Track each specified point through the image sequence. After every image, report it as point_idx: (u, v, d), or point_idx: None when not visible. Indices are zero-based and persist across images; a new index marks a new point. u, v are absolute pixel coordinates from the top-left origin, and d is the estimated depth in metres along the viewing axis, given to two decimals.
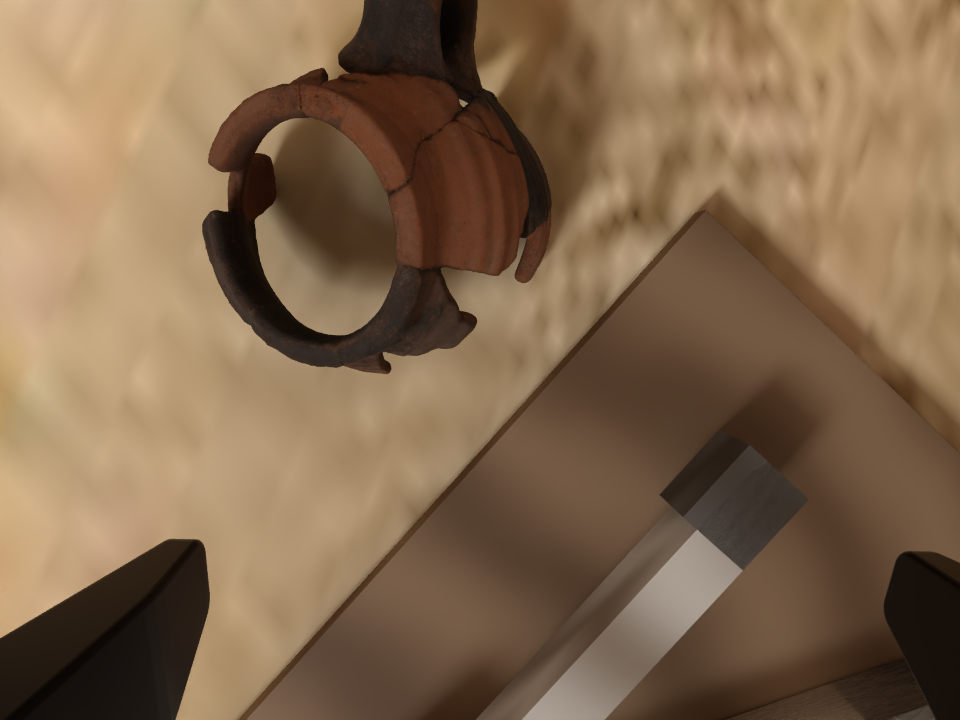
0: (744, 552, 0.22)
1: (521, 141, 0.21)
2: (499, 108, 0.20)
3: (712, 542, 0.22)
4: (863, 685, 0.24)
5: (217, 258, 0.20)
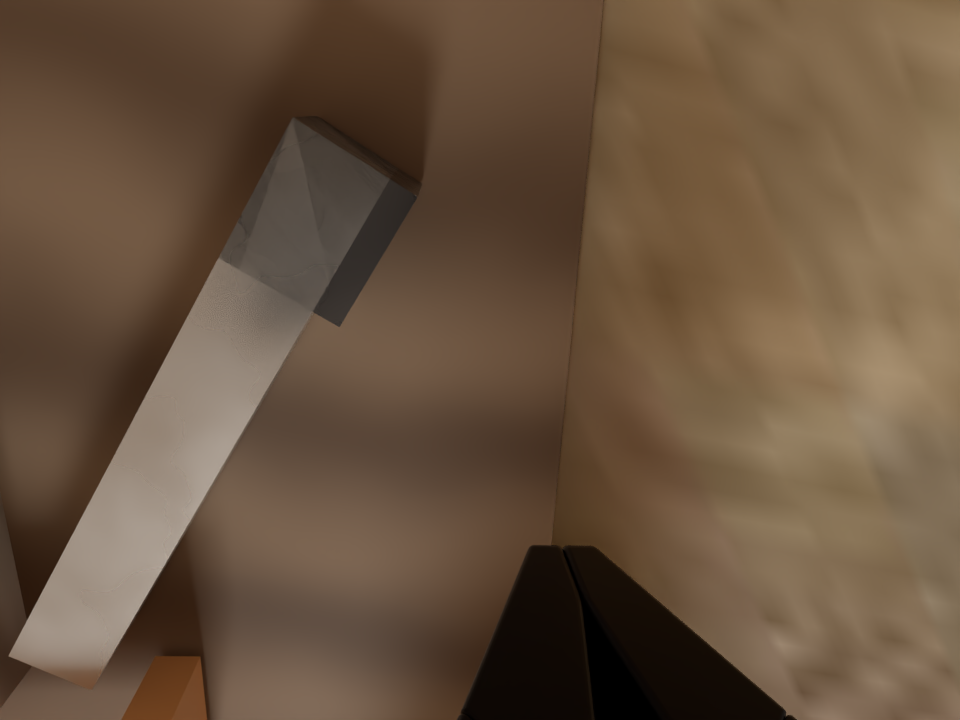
0: None
1: None
2: None
3: None
4: None
5: None
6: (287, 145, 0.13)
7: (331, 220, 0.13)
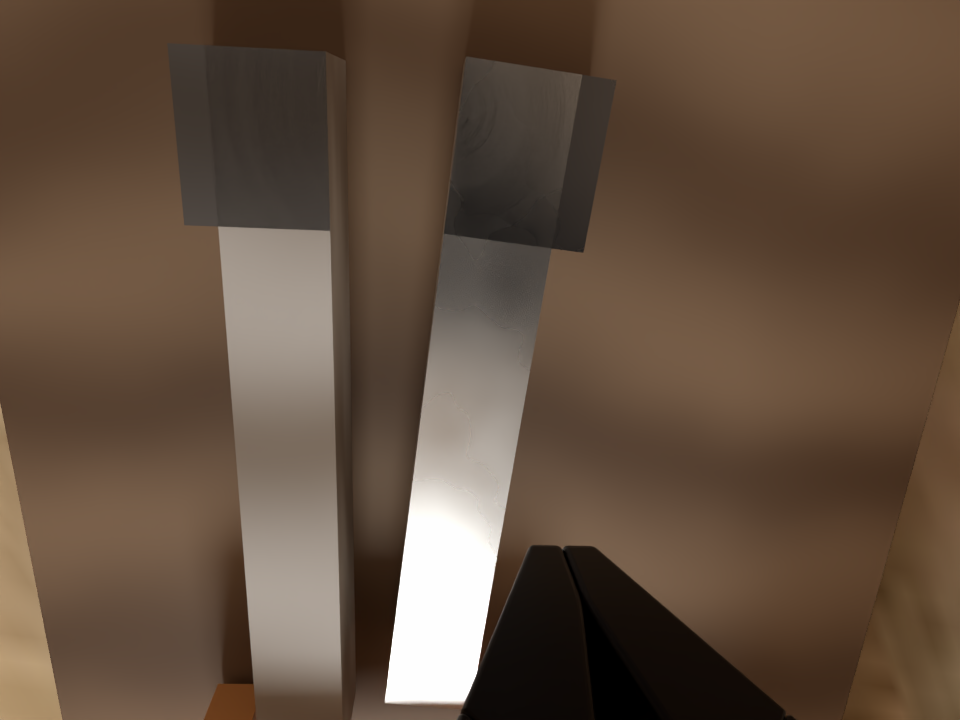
0: (308, 204, 0.13)
1: None
2: None
3: (254, 226, 0.13)
4: None
5: None
6: (471, 87, 0.12)
7: (539, 146, 0.12)
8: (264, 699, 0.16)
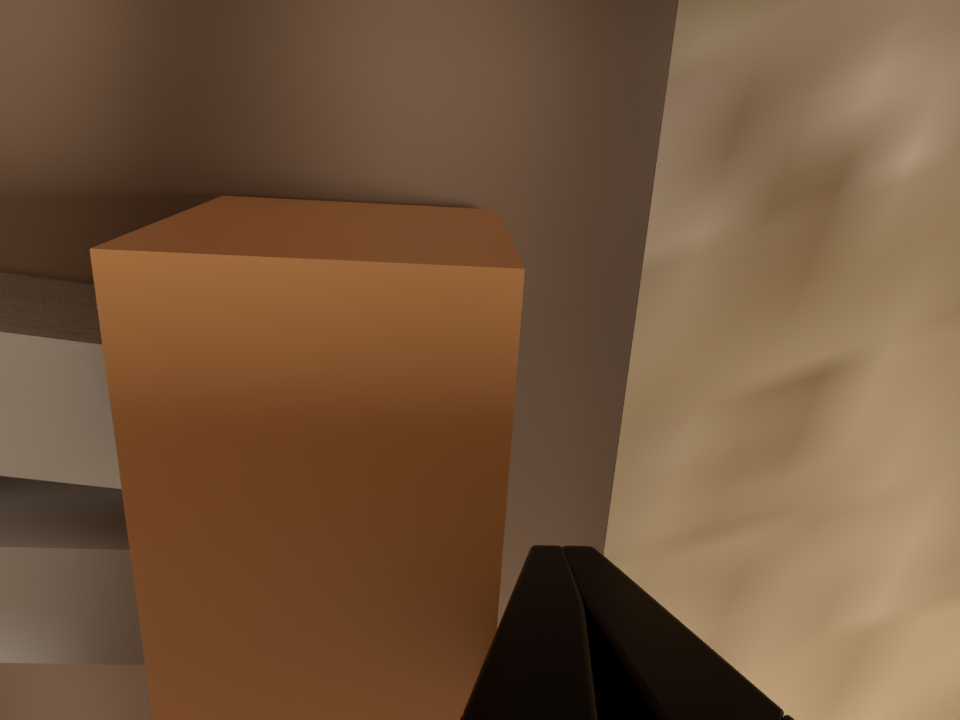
0: None
1: None
2: None
3: None
4: None
5: None
6: None
7: None
8: None
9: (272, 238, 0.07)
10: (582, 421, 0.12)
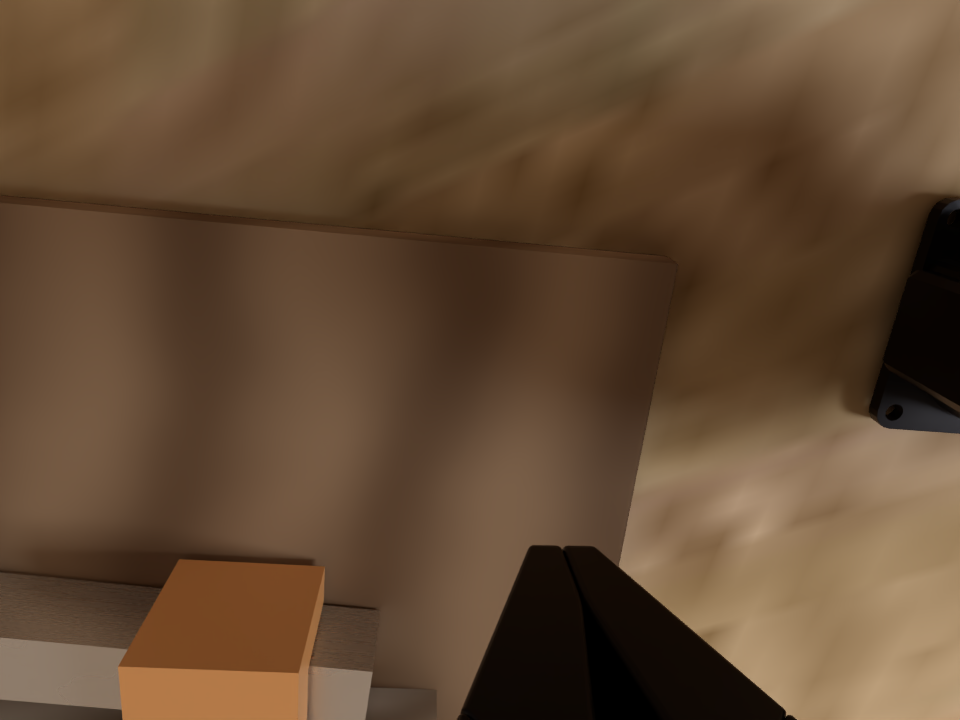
0: None
1: None
2: None
3: None
4: None
5: None
6: None
7: None
8: None
9: (196, 639, 0.17)
10: None
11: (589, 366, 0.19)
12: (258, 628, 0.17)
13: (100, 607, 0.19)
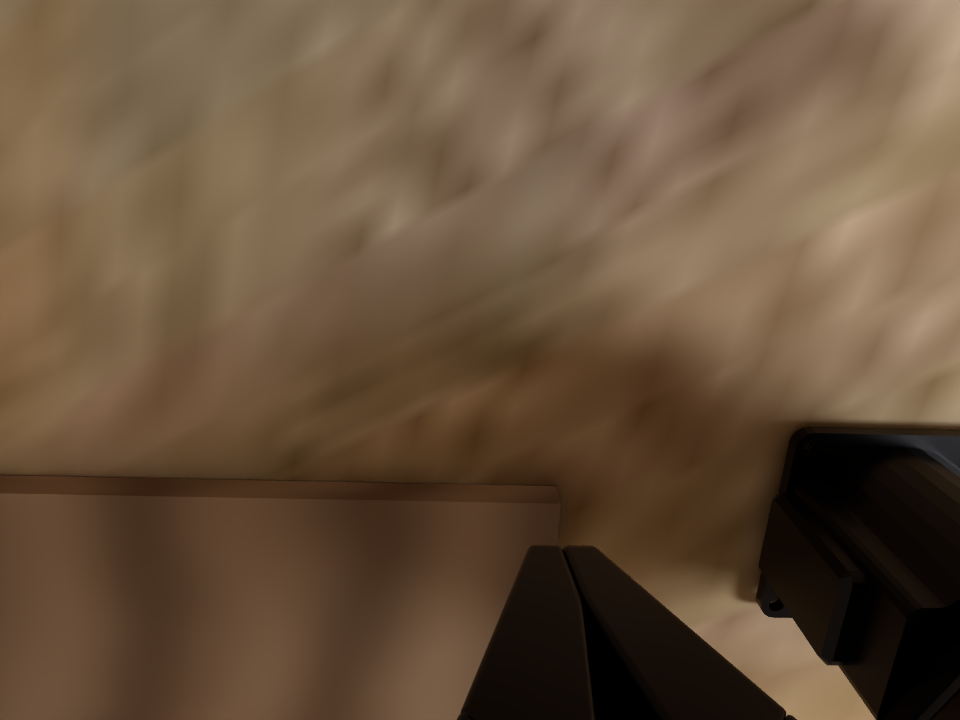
0: None
1: None
2: None
3: None
4: None
5: None
6: None
7: None
8: None
9: None
10: None
11: (492, 587, 0.21)
12: None
13: None
